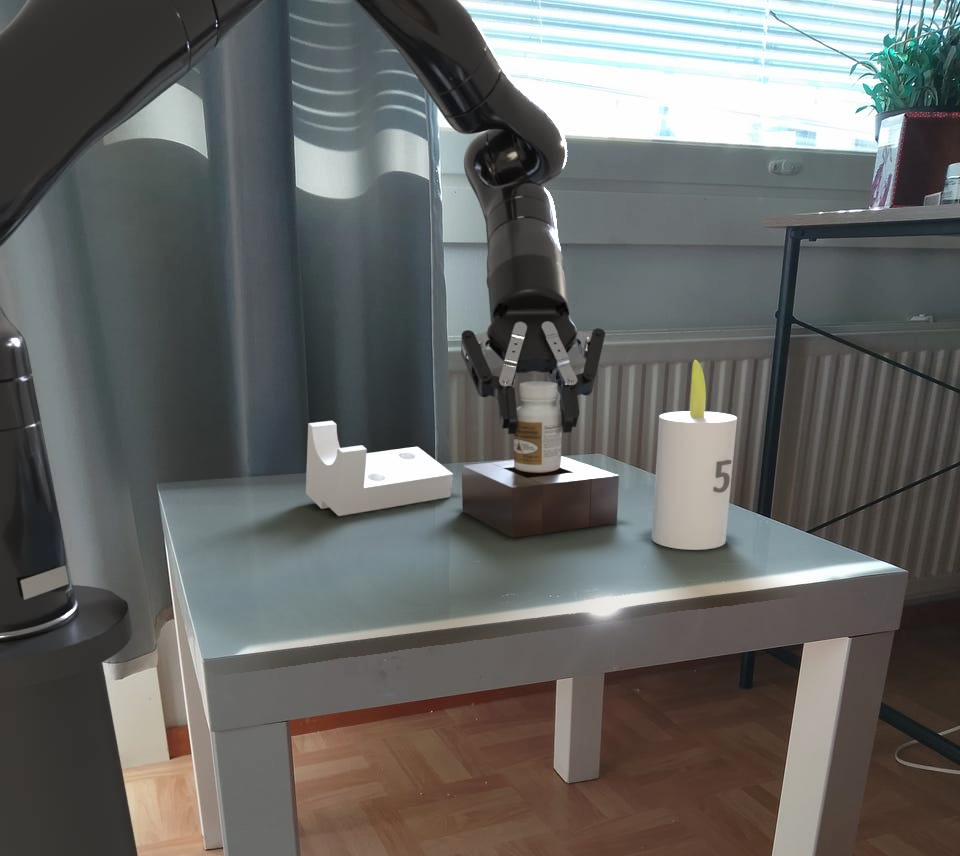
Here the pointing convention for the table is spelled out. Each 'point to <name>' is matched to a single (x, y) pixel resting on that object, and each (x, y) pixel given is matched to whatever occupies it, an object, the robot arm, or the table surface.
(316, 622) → the table surface
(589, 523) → the socket
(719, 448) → the candle
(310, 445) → the bracket
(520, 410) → the pill bottle
